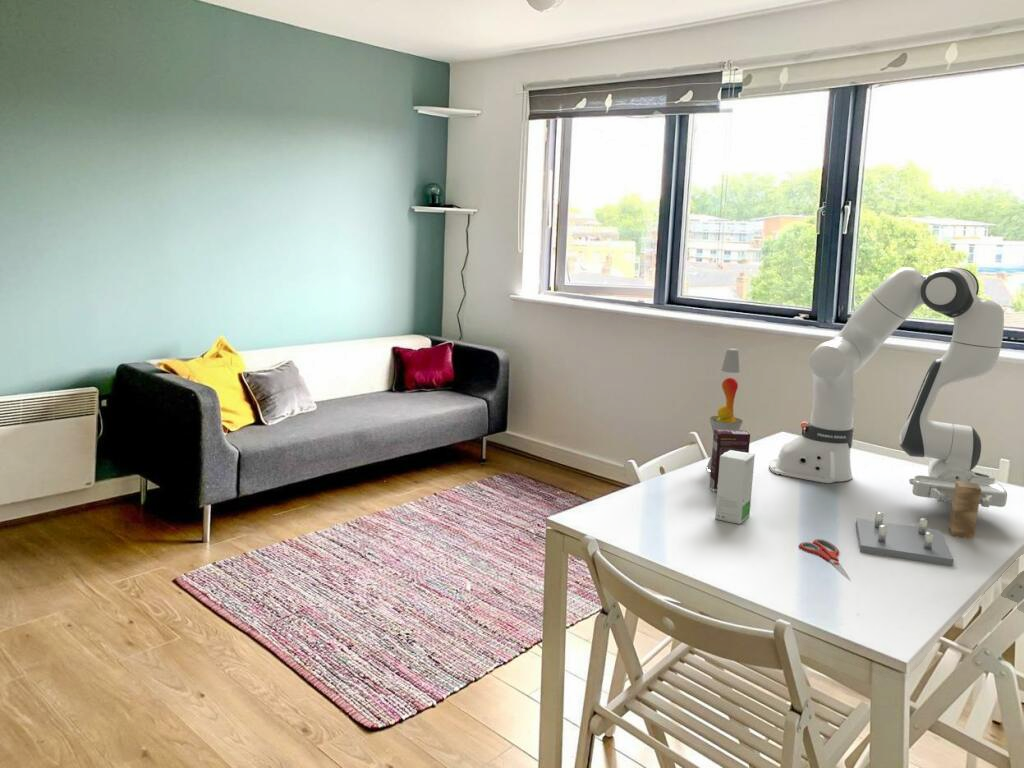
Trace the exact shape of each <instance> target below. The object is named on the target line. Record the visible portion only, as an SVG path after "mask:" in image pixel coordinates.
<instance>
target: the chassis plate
mask: <svg viewBox="0 0 1024 768" xmlns="http://www.w3.org/2000/svg"><path fill="white" fill-rule="evenodd" d="M855 519H856V520H855V528H856V529H857V530H856V529H855V530H856V536H857V535H858V536H857V542H858V541H859V542H858V547H859V552H860V553H865V554H866V553H867V554H873V555H880V556H885V557H886V556H887V557H890V558H891V557H892V558H899V559H903V560H904V559H905V560H911V561H917V562H925V563H931V564H937V565H944V566H948V567H950V566H951V567H952V566H953V565H954V557H953V556H952V554H951V551H950V549H949V546H948V544H947V541H946V539H945V537H944V535H943V533H942V531H941V529H934V528H929V527H927V530H926V532H932V533H934V536H933V542H932V549H931V550H927V549H924V548H923V546H924V539H925V535H920V534H918V530H919V526H913V525H907V524H899V523H893V522H885V521H883V522H882V525H885V526H887V533H886V540H885V543H881V542H878V541H877V539H878V532H879V529H878V528H875V527H874V524H875V520H871V519H865V518H855Z"/></svg>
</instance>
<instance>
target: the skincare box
mask: <svg viewBox="0 0 1024 768" xmlns="http://www.w3.org/2000/svg"><path fill="white" fill-rule="evenodd" d="M755 454H756V453H751V452H749V453H746V452H739V451H733V450H729V451H728V452H725V453H724V454H723V455H721V456H720V463H719V476H718V488H717V492H716V501H715V502H716V503H715V512H714V513H715V514H714V519H715V520H718V521H722V522H726V523H731V524H736V525H737V524H738V525H741V524H742V523H743V522H745V521H746V519H747V518H749V516H750V514H751V502H752V490H753V480H754V478H753V477H754V467H755V457H756V455H755Z"/></svg>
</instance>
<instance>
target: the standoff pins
mask: <svg viewBox="0 0 1024 768" xmlns="http://www.w3.org/2000/svg"><path fill="white" fill-rule="evenodd" d="M883 520H884V512H881V511H875V519H874V521H875V524H874V527H875V528H878V529H879V532H878V539H877V541H878V542H881V543H885V540H886V533H887V526H885V525H882V522H884V521H883ZM928 523H929V519H928V518H926V517H920V518H919V525H918V527H919V530H918V534H920V535H925V539H924V546H923V548H924V549H927V550H931V549H932V542H933V536H934V533H932V532H926V530H927V528H928Z"/></svg>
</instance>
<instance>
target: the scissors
mask: <svg viewBox="0 0 1024 768" xmlns="http://www.w3.org/2000/svg"><path fill="white" fill-rule="evenodd" d="M825 545H826V546H825ZM809 546H810V547H809ZM827 546H828V548H829V549H831V550H832V551H831V550H829V549H828V548H827ZM812 547H813V548H812ZM798 548H799V549H800V550H801V549H802V551H804V552H806V551H807V552H806V553H809V552H810V554H813V553H814V554H813V555H816V556H818V555H819V556H818V557H820V558H821V559H823V560H825V561H826V562H828V563H830V564H831V565H832V566H833V567H834V568H835V569H836V570H837V571H838V572H839V573H840V574H841V575H842V576H843V577H845V578H846V579H847V580H849V581H850V582H852V581H851V578H850V576H849V574H848V573H847V572H846V570H845V569H844V568H843V566H842V564H841V563H840V562H839V561H840V560H839V558H838V557H837V555H838V556H839V555H840V550H839V549H838V547H837V546H836V545H835V544H833V543H831V542H830V541H828V540H826V539H821V538H817V539H814V540H813V542H808V541H803V542H800V543H799V545H798ZM814 548H815V549H814Z"/></svg>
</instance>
